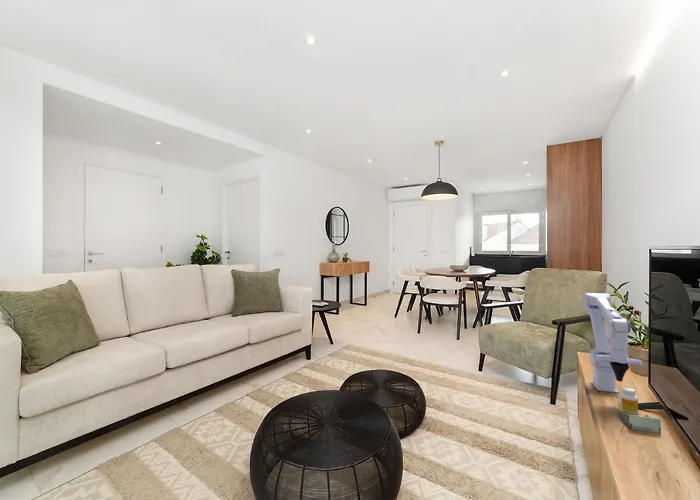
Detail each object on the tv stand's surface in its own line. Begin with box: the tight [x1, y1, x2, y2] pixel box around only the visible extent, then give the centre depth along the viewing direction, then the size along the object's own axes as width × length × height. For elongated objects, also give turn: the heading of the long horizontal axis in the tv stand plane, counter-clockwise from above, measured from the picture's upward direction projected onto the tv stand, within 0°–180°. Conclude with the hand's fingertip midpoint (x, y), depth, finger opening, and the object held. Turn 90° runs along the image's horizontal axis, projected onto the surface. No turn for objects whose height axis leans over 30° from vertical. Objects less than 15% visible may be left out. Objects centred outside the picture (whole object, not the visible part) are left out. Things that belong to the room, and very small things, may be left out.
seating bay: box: [618, 410, 662, 434], centre depth 116 cm, size 9×9×5 cm
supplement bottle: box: [619, 386, 639, 417], centre depth 123 cm, size 5×5×10 cm
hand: (619, 380), depth 131 cm, fingers closed
